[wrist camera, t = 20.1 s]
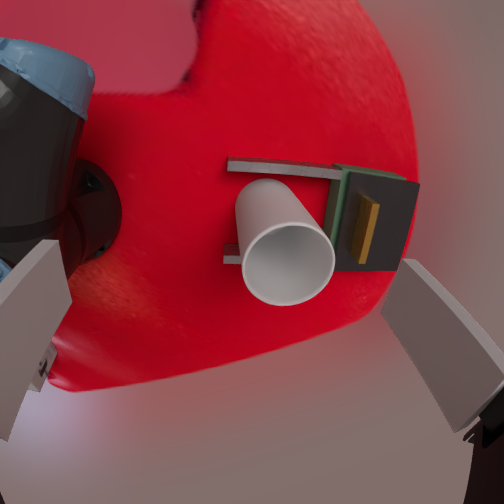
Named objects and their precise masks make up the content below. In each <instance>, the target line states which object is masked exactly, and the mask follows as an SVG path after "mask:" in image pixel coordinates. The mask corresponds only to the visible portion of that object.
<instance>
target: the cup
mask: <svg viewBox="0 0 504 504" xmlns="http://www.w3.org/2000/svg"><path fill="white" fill-rule="evenodd" d="M235 214H236V223H237V232H238V241H239V250H240V259H241V267H242V275H243V278H244V281H245V284H246V286H247V287H248V289H249V290H250V292H251V293H252V294H253V295H254V296H255V297H257V298H258V299H260V300H261V301H263V302H266V303H268V304H272V305H278V306H290V305H295V304H299V303H302V302H305V301H307V300H309V299H311V298H312V297H314V296H315V295H317V294H318V293H319V292H320V291H321V290H322V289H323V288H324V287H325V286H326V284H327V283H328V282H329V280H330V278H331V276H332V274H333V271H334V266H335V253H334V249H333V247H332V244H331V242H330V240H329V239H328V237H327V236H326V235H325V233H324V232H323V231H322V229H321V228H320V227H319V225H318V224H317V223H316V222H315V220H314V219H313V218H312V216H311V215H310V214H309V213H308V211H307V210H306V209H305V208H304V206H303V205H302V204H301V203H300V201H299V200H298V199H297V198H296V196H295V195H294V194H293V193H292V191H291V190H290V189H289V188H288V187H287V186H286V185H285V184H283V183H282V182H280V181H278V180H275V179H269V178H264V179H258V180H255V181H253V182H251V183H249V184H248V185H246V186H245V187H244V188H243V189H242V190H241V192H240V193H239V195H238V197H237V200H236V204H235Z"/></svg>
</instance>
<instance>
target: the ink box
mask: <svg viewBox="0 0 504 504" xmlns="http://www.w3.org/2000/svg"><path fill="white" fill-rule="evenodd" d="M57 353H58V352H57V350H56V349H55V347H54V345H53V343H52V341H50V343H49V345H48V347H47V349H46V351H45V353H44V355H43V357H42V359H41V361H40V363H39V365H38V367H37V369H36V371H35V374H34V376H33V378H32V380H31V382H30V385H29V387H28V390H32V391H36V392H40V391H41V388H42V386H43V383H44V381H45V379H46V377H47V375H48V372H49V370H50V368H51V366H52V364H53V362H54V359H55V357H56V355H57Z"/></svg>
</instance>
